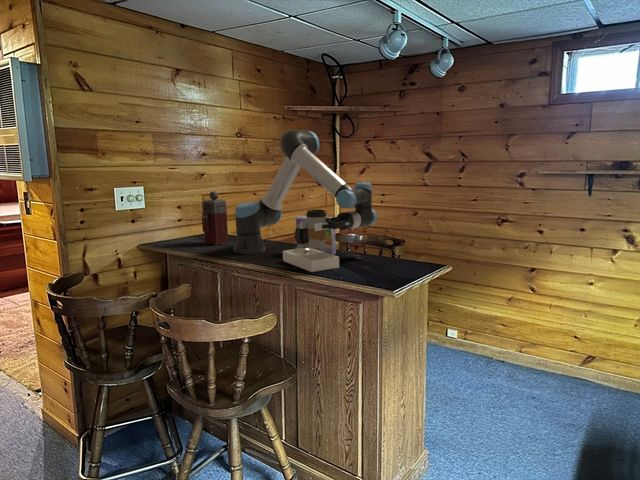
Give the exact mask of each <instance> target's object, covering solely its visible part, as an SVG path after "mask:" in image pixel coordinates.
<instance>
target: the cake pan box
mask: <svg viewBox="0 0 640 480" xmlns="http://www.w3.org/2000/svg"><path fill="white" fill-rule="evenodd" d="M332 217H333V216H326V218H332ZM305 221H307V217H306V215H299V216H297V217H295V230H294V239H295V242H296V244H297V245H296V246H297V247H310V246H309V238H308V228H304V229H300V222H305ZM335 231H336V229H333V228H332V229H329V228H328V229H326V235H325V246H324V247H323V248H312V249H315V250H318V251H322V252H325V253H328V254H332V255H335V254H336V253H337V250H336V246H337V245H336V233H335Z"/></svg>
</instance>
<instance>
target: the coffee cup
mask: <svg viewBox="0 0 640 480" xmlns="http://www.w3.org/2000/svg"><path fill="white" fill-rule="evenodd" d="M305 216H306V217H307V225H308V227H307V228H308V238H309V246H310V247H311V248H323V247H324V246H325V235H326V230H320V231H315V229H314V224H319V223H326V217H327V212H326V210H325V209H309V210H307V212H306V215H305Z"/></svg>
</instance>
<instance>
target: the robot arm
mask: <svg viewBox="0 0 640 480" xmlns="http://www.w3.org/2000/svg"><path fill="white" fill-rule="evenodd" d="M279 147H280V150H281V152H282V153H283V155H285V158H284V160H283V162H282V163H281V166H280V167H279V170H278V171H277V173H276V175H275V177H274V179H273V181H272V182H271V185H270V187H269V189H268V191H267V192H266V195H263V196H261V197H260V199H259V201H258V202H256V201H249V202H242V203H240V204H237V205H236V207H235V211H234V212H235V213H234V216H235V230H236V232H235V233H236V237H235V241H234V245H233V253H234V252H235V253H234V254H237V253H238V254H237V255H252V254H261V253H264V252H265V251H266V246H265V243H264V240H263V237H262V233H261V231H262V230H261V228H265V227H270V226H273V225H276V224H277V223H279V221H280V220H281V219H282V216H283V212H282V210H283V205H282V203H283V201H284V199H285V198H286V195H287V194H288V192H289V190H290V188H291V186H292V184H293V183H294V181H295V178H296V177H297V175H298V174H299V171H300V169H301V168H302V169H303V170H304V171H306V172H307V173H308V174H309V175H310V176H311V177H312V178H313V179H314V180H316V181H317V183H318V184H319V185H321V186H322V187H323V188H325V190H327V192H329V193H330V194H331V195H332V196H333V197H334V198H335V199H336V203H337V205H338V206H339V207H340V208H343V209H351V208H353V207H354V210H351V211H350V210H349V211H344V212H340V213H338V214H337V215H336V216H331V217H332V218H326V223H319V224H314V229H315V231H320V230H326V229H328V228H329V229H332V228H333V229H334V230H337V229H339V230H341V231H346V230H355V229H358V228H363V227H369V226H373V225H374V224H376V222H377V220H378V214H377V211H375V209H373V190H372V187H373V186H372V184H371V183H370V182H356V183H354V188H352V186H350V185H349V184H348V183H347V182H345V181H344V180H343V179H342V178H341V177H340V176H339V175H337V174H336V173H335V172H334V171H333V170H332V169H331V168H329V166H327V165H326V164H325V163H324V162H323V161H322V160H320V159H319V158H318V157H317V156H316V154H317V153H318V152H319V150H320V140H319V137H318V136H317V134H316V133H315V132H313V131H311V130H307V129H301V130H300V129H290V130H287V131H285V132H284V133H283V134H282V136H281V137H280V140H279ZM307 227H308V225H307V221H305V222H300V229H304V228H307Z"/></svg>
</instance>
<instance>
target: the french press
mask: <svg viewBox="0 0 640 480" xmlns="http://www.w3.org/2000/svg"><path fill="white" fill-rule="evenodd" d="M208 196H209V199H207V200H206V199H205V200H203V201H202V202H201V205H202V212H201V213H202V214H201V226H202V232H203V234H204V235H203V236H204V244H205V243H207V244H222V243H226V242H228V243H229V228H228V211H227V200H225V199H218V197H219V193H218V192H217V191H215V190H213V191H210V193H209V195H208ZM226 244H227V243H226ZM222 245H223V244H222Z"/></svg>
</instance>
